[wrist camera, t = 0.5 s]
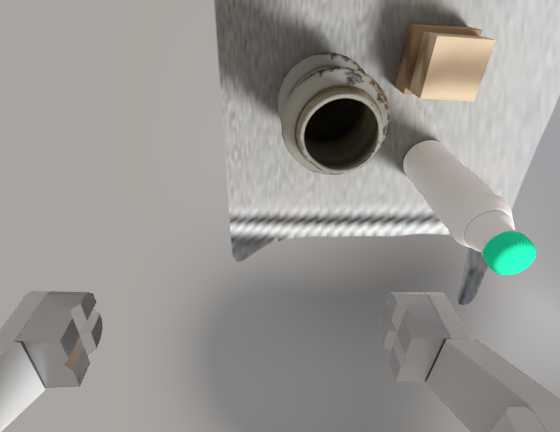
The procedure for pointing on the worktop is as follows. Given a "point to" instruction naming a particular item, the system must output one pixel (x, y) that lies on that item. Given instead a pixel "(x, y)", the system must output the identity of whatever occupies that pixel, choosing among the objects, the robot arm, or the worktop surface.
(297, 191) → the worktop surface
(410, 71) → the bottom block
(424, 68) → the top block
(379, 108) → the apothecary jar
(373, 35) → the worktop surface
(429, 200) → the water bottle
